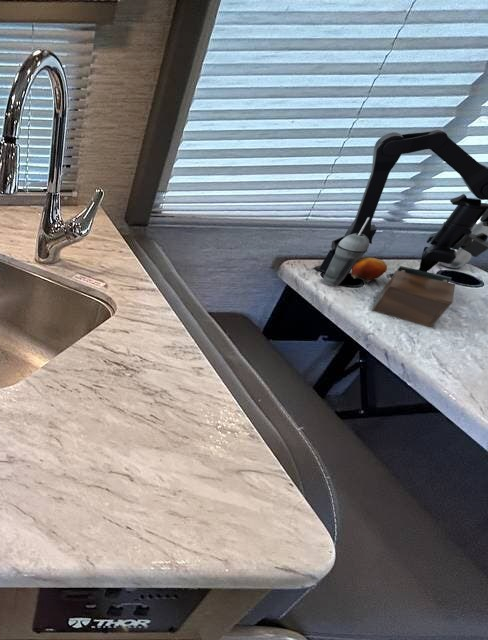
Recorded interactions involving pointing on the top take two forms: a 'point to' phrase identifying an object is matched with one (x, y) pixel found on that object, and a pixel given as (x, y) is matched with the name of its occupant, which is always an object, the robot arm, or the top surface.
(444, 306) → the cabinet
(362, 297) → the top surface
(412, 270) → the drawer
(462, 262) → the plastic bottle
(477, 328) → the top surface
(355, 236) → the beverage cup
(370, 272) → the fruit
